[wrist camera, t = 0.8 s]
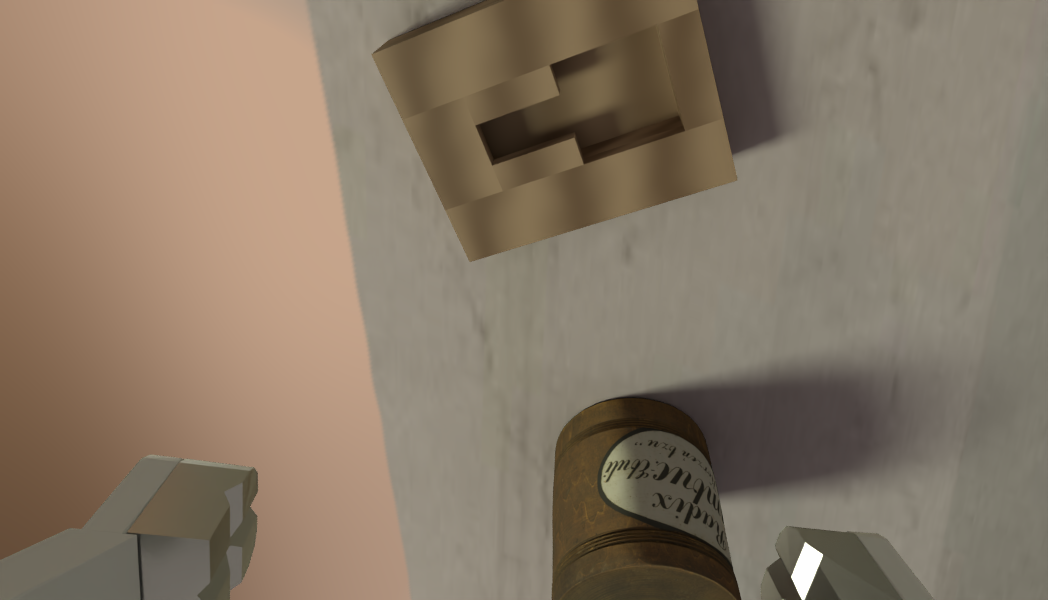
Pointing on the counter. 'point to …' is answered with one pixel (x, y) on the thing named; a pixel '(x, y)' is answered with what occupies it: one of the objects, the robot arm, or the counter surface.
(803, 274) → the counter surface
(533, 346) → the counter surface
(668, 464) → the wooden container
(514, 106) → the keyhole plate
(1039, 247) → the counter surface
